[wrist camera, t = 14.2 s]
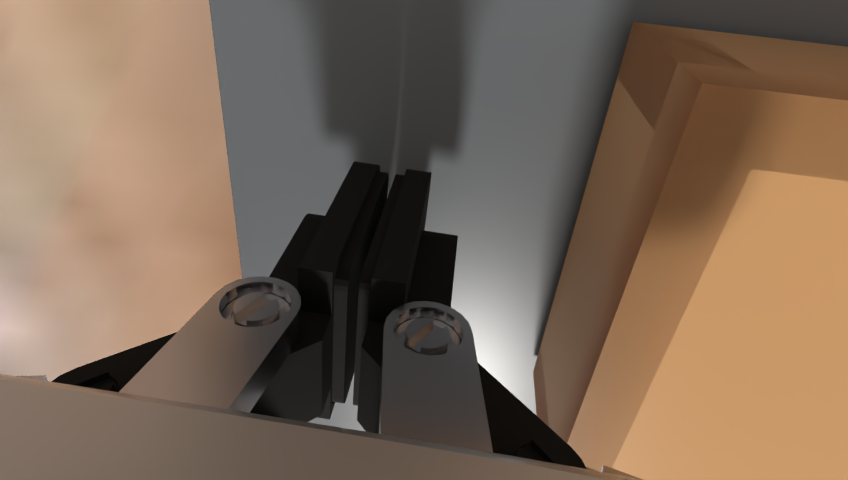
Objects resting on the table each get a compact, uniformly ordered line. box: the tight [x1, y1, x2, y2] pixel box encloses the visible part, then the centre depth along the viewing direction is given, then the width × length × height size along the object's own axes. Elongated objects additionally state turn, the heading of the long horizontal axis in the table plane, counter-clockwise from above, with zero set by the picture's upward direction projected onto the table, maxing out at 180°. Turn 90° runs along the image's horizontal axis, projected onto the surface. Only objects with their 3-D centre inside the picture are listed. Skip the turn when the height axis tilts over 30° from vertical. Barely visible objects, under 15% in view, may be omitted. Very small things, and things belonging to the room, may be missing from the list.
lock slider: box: [533, 22, 848, 480], centre depth 10 cm, size 6×9×4 cm, turn 175°
